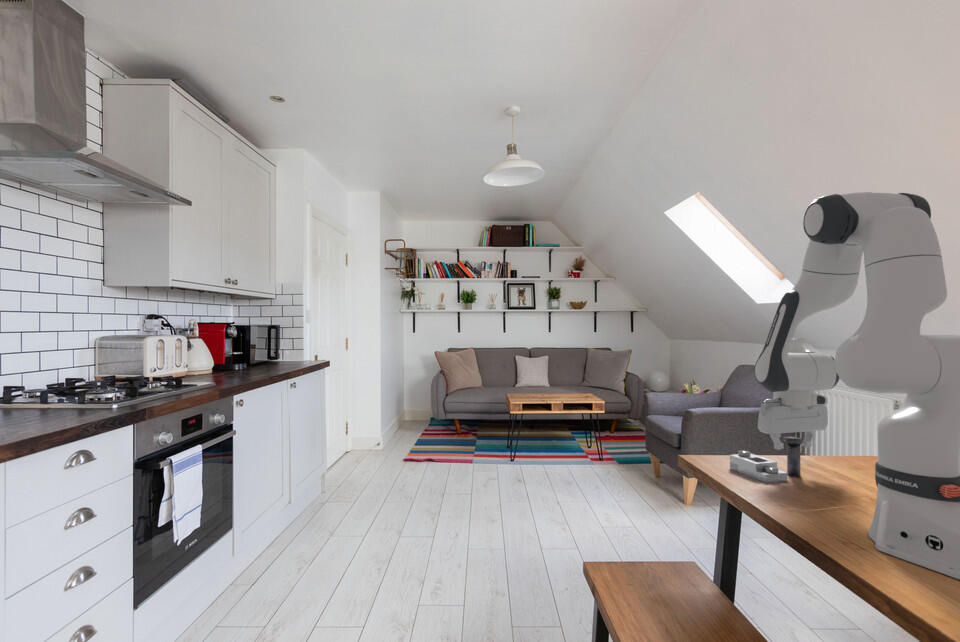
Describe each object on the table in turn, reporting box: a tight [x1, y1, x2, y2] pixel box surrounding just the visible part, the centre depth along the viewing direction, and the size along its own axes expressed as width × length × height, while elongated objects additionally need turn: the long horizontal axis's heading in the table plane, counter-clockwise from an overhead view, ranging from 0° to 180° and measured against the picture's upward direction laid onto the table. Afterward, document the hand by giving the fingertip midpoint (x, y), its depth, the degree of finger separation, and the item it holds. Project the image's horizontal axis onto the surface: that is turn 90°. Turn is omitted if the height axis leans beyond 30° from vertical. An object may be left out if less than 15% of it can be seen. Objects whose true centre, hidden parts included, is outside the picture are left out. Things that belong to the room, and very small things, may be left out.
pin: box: [783, 436, 804, 478], centre depth 125 cm, size 4×4×10 cm
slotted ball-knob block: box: [729, 450, 788, 484], centre depth 126 cm, size 12×7×5 cm, turn 14°
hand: (792, 448), depth 126 cm, fingers open, 8 cm apart
